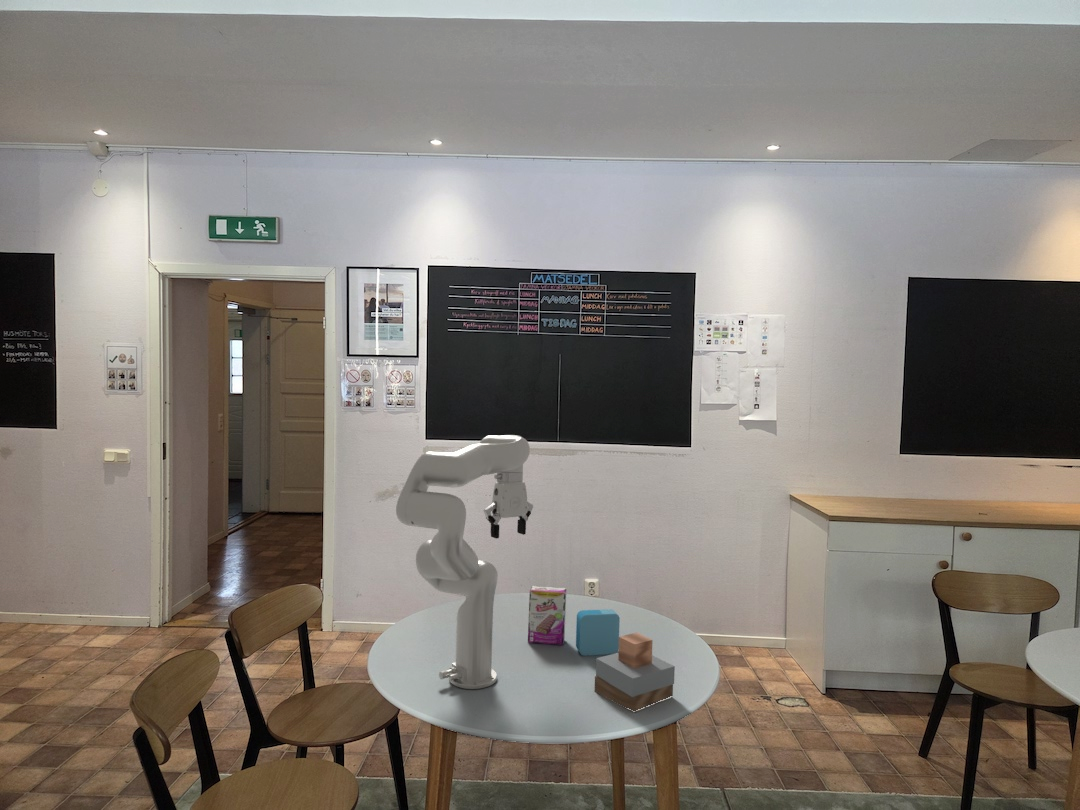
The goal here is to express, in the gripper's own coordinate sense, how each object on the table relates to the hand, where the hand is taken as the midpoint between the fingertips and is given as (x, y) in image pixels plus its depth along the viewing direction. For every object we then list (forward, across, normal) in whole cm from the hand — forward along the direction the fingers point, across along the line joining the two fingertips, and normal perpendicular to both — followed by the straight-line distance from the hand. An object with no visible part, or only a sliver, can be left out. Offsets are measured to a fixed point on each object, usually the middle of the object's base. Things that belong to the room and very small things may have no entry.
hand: (508, 535), depth 194 cm
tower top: (+30, +10, -42) cm, 52 cm away
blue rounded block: (+35, +22, -16) cm, 44 cm away
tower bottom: (+35, +10, -41) cm, 55 cm away
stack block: (+26, +10, -41) cm, 50 cm away
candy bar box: (+34, +15, -1) cm, 38 cm away
